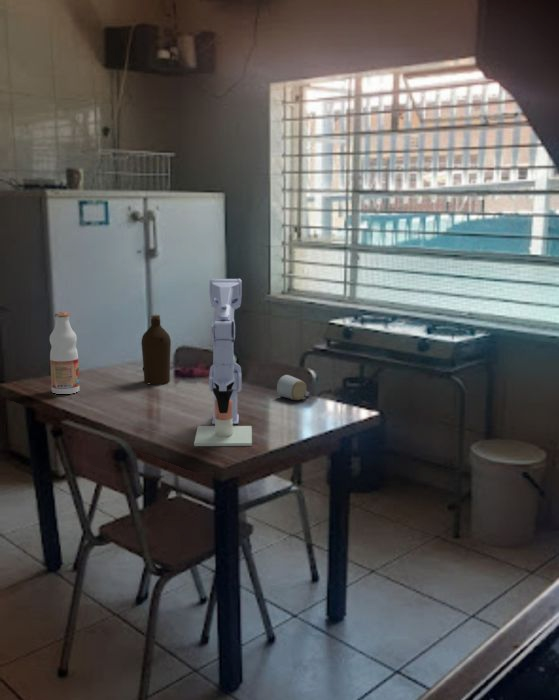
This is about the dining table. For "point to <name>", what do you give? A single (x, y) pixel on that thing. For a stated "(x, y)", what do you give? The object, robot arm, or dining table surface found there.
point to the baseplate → (208, 437)
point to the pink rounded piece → (224, 415)
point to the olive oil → (156, 353)
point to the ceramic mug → (291, 388)
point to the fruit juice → (64, 356)
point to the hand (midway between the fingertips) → (223, 409)
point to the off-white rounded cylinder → (224, 427)
